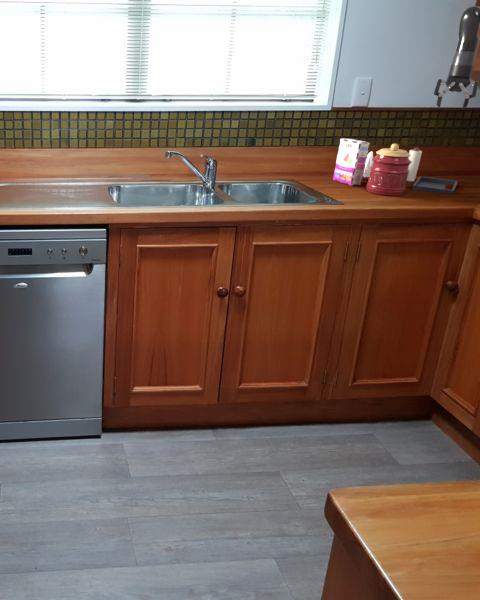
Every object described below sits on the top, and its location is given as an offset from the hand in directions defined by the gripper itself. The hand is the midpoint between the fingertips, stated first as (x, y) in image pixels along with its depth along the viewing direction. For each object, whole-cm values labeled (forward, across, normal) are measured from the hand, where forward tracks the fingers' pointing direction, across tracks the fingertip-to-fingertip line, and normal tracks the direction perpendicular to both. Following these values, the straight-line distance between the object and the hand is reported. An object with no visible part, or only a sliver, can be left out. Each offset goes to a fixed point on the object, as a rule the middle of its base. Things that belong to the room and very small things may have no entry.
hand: (451, 107), depth 240 cm
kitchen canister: (+28, -12, -42) cm, 52 cm away
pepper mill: (+28, -8, -12) cm, 31 cm away
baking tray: (+28, +2, -20) cm, 35 cm away
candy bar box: (+28, -27, -34) cm, 52 cm away
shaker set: (+28, -21, -20) cm, 41 cm away
